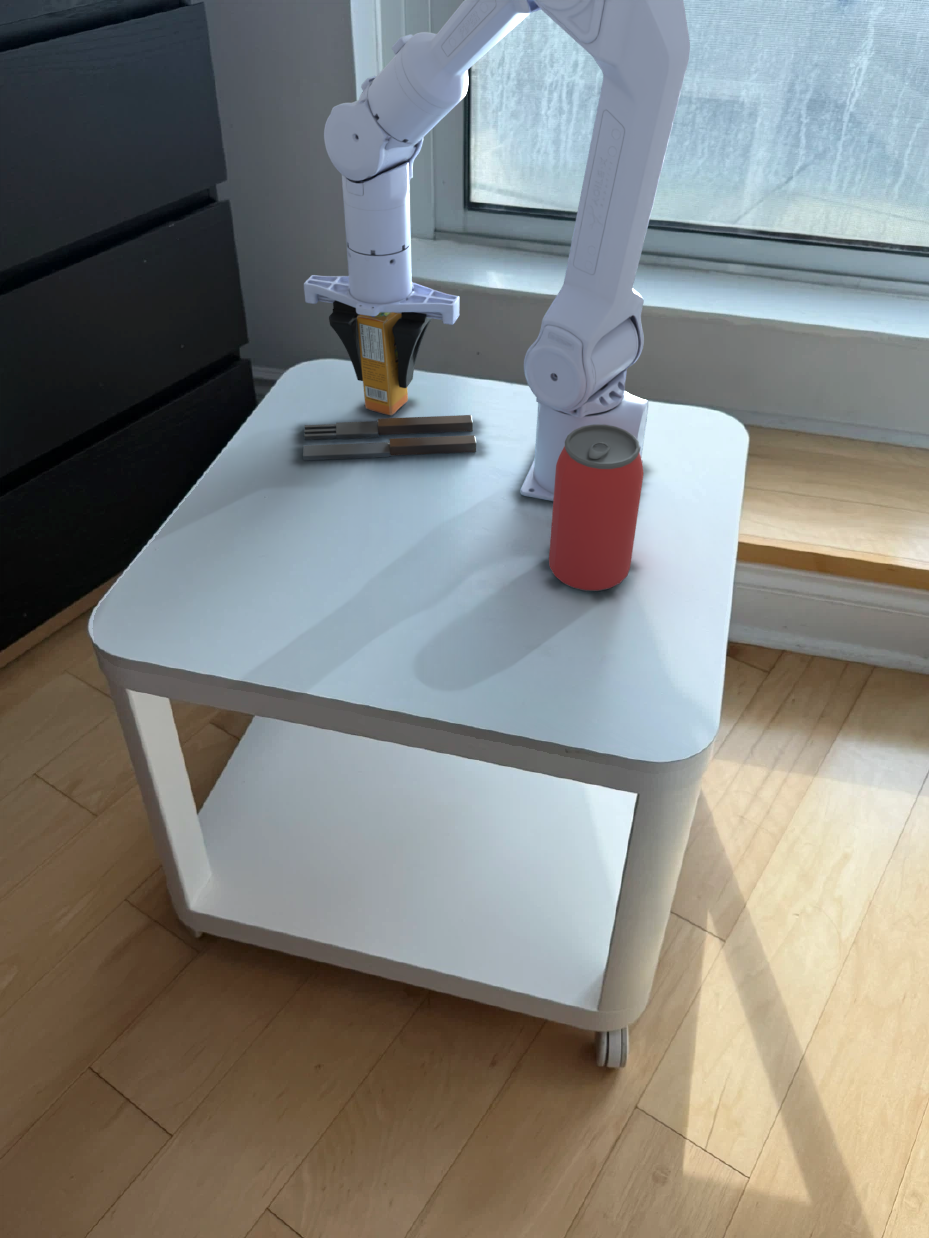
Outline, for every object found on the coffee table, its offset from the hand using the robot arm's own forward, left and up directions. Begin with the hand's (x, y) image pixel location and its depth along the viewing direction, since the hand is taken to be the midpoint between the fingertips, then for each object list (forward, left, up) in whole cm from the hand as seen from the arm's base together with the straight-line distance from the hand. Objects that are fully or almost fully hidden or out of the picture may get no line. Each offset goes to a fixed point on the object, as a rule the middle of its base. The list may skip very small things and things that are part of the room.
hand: (385, 379), depth 104 cm
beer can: (-25, +19, -3) cm, 31 cm away
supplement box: (0, 0, -3) cm, 3 cm away
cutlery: (-3, +6, -3) cm, 7 cm away
